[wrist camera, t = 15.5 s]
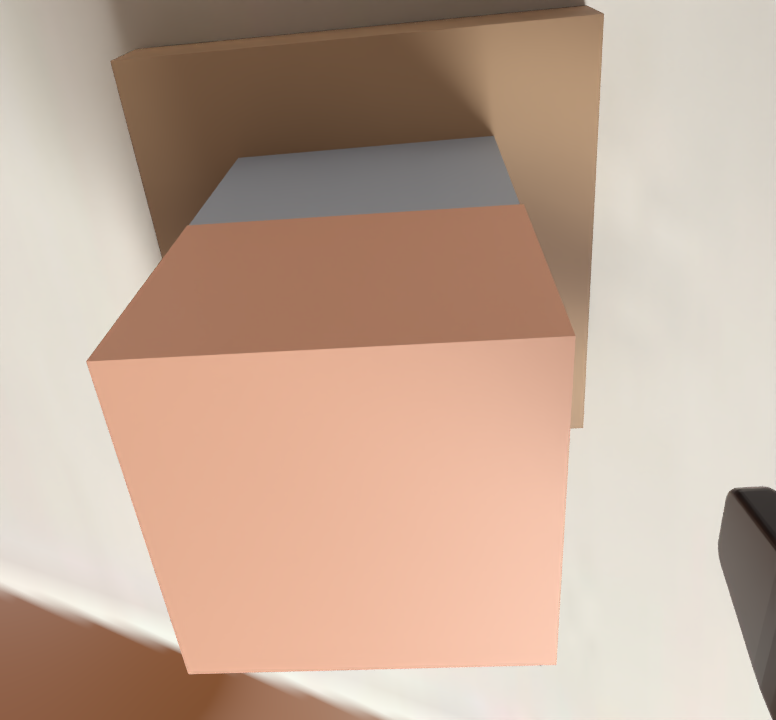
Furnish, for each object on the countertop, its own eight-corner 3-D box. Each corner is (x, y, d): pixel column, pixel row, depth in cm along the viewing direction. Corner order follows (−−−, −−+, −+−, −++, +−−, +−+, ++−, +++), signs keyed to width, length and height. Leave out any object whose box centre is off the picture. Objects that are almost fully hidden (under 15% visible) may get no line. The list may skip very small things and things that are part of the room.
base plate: (571, 393, 19) (582, 427, 18) (225, 414, 20) (212, 448, 18) (586, 5, 14) (603, 13, 13) (136, 49, 15) (110, 61, 14)
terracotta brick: (519, 472, 13) (556, 664, 10) (244, 484, 14) (188, 674, 10) (523, 204, 11) (576, 335, 7) (187, 225, 11) (86, 361, 8)
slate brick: (498, 359, 17) (520, 472, 13) (280, 373, 17) (247, 487, 14) (494, 136, 14) (519, 204, 11) (238, 158, 15) (185, 231, 11)
